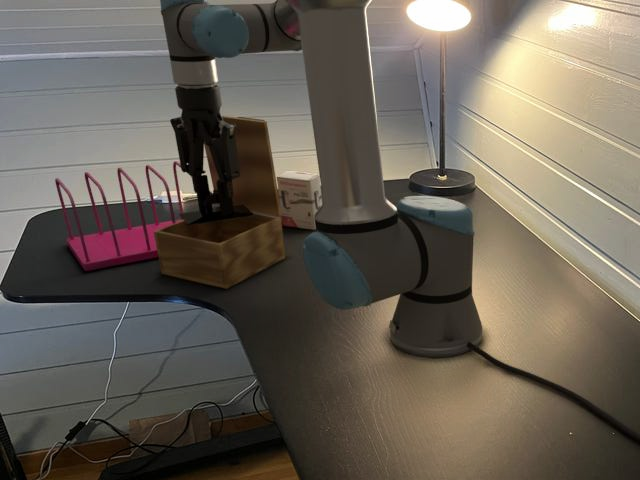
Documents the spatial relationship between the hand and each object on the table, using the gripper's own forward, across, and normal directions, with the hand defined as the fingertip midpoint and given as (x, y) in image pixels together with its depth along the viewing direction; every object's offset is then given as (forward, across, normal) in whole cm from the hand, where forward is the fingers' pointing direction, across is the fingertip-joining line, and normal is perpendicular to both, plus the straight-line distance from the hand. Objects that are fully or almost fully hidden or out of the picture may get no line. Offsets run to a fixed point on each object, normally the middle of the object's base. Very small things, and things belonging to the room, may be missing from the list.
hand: (216, 211), depth 141 cm
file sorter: (+11, +23, 0) cm, 25 cm away
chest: (+11, 0, 0) cm, 11 cm away
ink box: (+11, +1, -28) cm, 30 cm away
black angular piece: (+1, 0, 0) cm, 1 cm away
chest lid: (-7, 0, -8) cm, 11 cm away
